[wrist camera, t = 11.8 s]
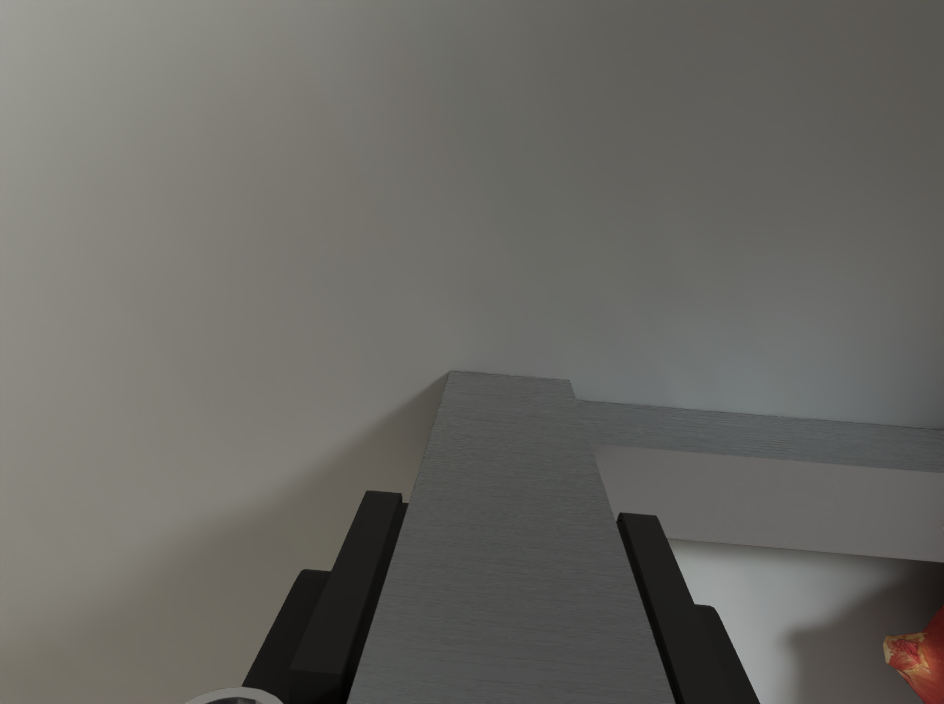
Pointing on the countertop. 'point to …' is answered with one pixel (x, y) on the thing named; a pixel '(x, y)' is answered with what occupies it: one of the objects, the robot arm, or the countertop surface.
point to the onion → (920, 658)
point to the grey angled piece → (609, 533)
